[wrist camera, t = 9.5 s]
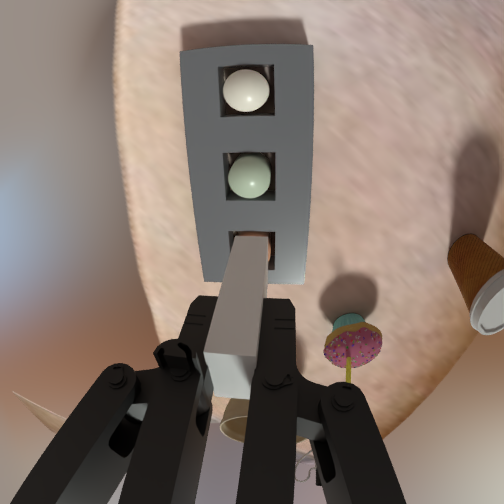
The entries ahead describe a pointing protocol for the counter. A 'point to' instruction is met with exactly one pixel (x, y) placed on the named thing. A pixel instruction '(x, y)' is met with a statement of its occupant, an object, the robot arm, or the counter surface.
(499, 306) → the disposable coffee cup
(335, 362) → the cupcake
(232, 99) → the white rounded piece
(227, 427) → the planter bowl
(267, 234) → the terracotta button
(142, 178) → the counter surface
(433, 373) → the counter surface
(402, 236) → the counter surface
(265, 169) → the sage button
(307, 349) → the counter surface
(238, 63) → the button panel
